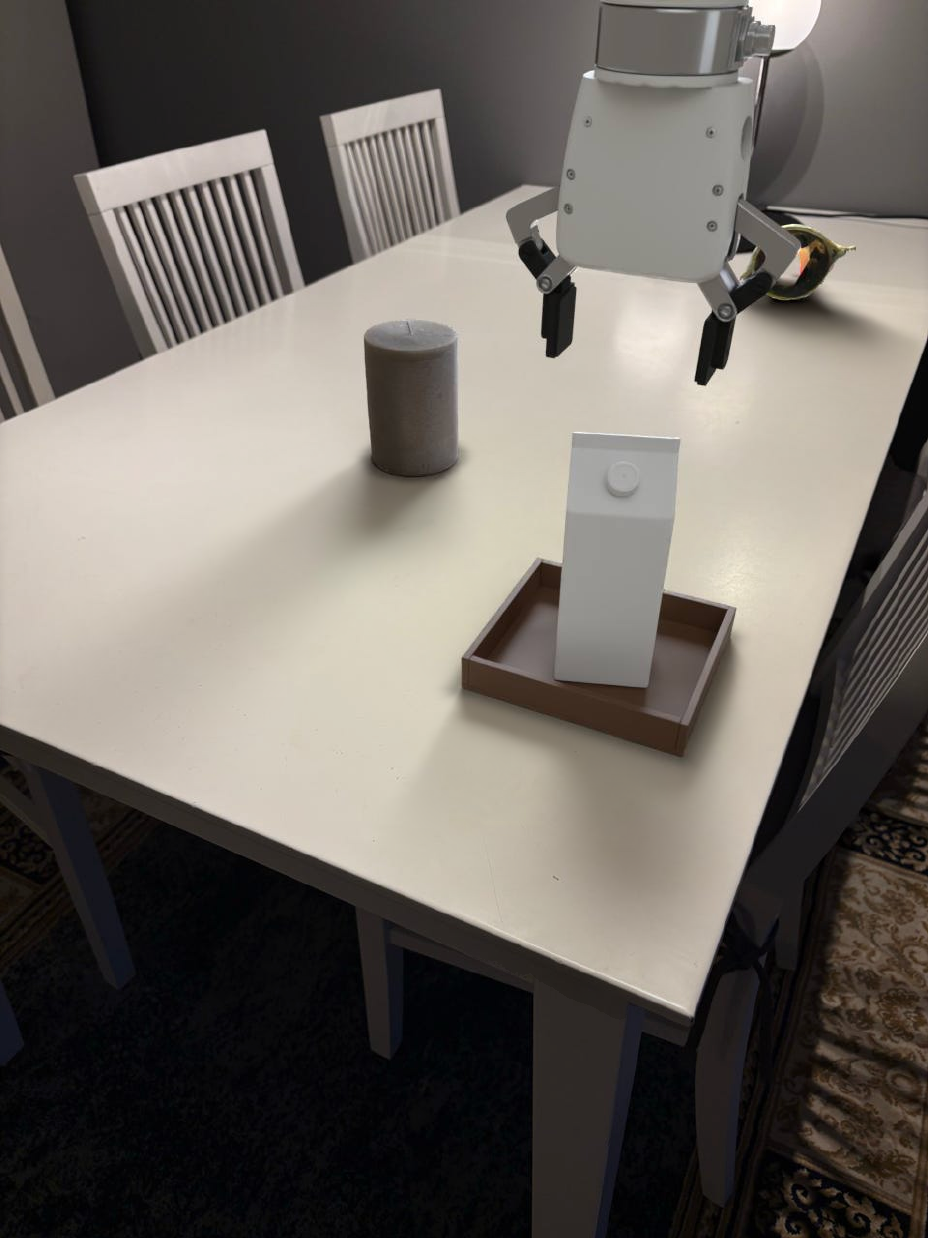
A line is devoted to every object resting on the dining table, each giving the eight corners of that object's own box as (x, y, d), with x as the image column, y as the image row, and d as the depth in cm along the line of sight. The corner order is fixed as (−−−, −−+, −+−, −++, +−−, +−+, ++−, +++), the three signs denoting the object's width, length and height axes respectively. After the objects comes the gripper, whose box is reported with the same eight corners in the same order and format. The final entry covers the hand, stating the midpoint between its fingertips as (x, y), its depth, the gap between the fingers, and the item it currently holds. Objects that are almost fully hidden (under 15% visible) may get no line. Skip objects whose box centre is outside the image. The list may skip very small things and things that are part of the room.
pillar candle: (374, 480, 96) (365, 341, 87) (368, 440, 104) (359, 307, 95) (465, 473, 97) (465, 335, 88) (452, 434, 105) (451, 303, 96)
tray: (730, 636, 75) (736, 607, 73) (682, 757, 64) (688, 726, 62) (535, 585, 81) (537, 556, 79) (461, 687, 70) (461, 657, 68)
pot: (838, 216, 149) (853, 202, 132) (848, 287, 152) (863, 282, 135) (730, 246, 154) (731, 237, 138) (741, 314, 157) (744, 313, 140)
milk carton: (558, 625, 75) (574, 410, 64) (645, 632, 74) (678, 415, 63) (553, 681, 69) (570, 456, 58) (647, 690, 69) (683, 463, 57)
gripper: (852, 48, 47) (779, 367, 57) (540, 32, 53) (526, 323, 63) (831, 64, 42) (755, 412, 52) (487, 44, 48) (481, 360, 58)
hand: (630, 363), depth 58 cm, fingers open, 9 cm apart
